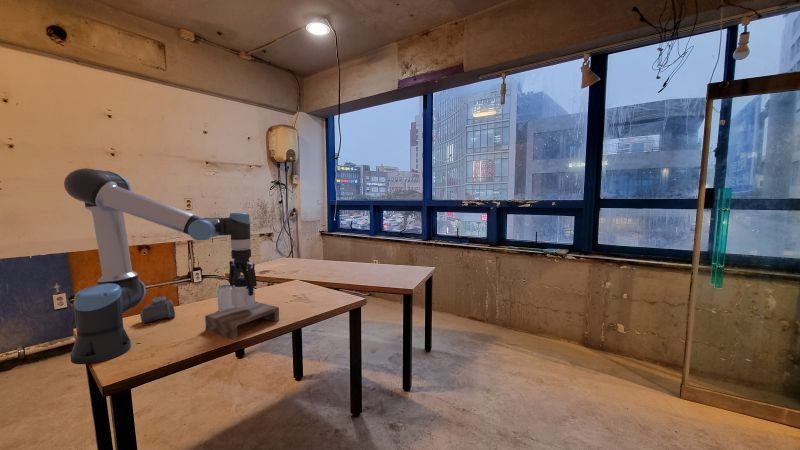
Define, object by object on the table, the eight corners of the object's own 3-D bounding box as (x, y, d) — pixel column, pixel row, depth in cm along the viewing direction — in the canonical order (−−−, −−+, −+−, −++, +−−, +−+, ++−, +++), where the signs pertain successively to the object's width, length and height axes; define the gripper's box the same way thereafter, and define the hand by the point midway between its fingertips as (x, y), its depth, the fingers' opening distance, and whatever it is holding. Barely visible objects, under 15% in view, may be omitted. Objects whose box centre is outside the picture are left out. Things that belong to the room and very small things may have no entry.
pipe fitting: (174, 312, 146) (170, 292, 144) (177, 318, 141) (173, 298, 138) (141, 322, 138) (137, 301, 136) (143, 329, 133) (138, 307, 130)
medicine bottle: (255, 304, 133) (254, 277, 132) (237, 309, 128) (236, 280, 127) (248, 301, 138) (247, 274, 137) (231, 305, 133) (230, 277, 132)
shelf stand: (205, 329, 128) (205, 315, 128) (253, 313, 147) (252, 300, 147) (232, 339, 120) (232, 324, 119) (279, 320, 139) (278, 307, 138)
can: (236, 309, 152) (235, 285, 151) (222, 313, 147) (221, 289, 146) (228, 307, 155) (228, 284, 155) (215, 311, 150) (214, 286, 149)
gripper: (265, 249, 129) (267, 302, 131) (234, 246, 139) (236, 295, 141) (249, 252, 123) (251, 307, 124) (217, 248, 133) (220, 299, 134)
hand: (243, 301), depth 133 cm, fingers closed on medicine bottle, 8 cm apart
